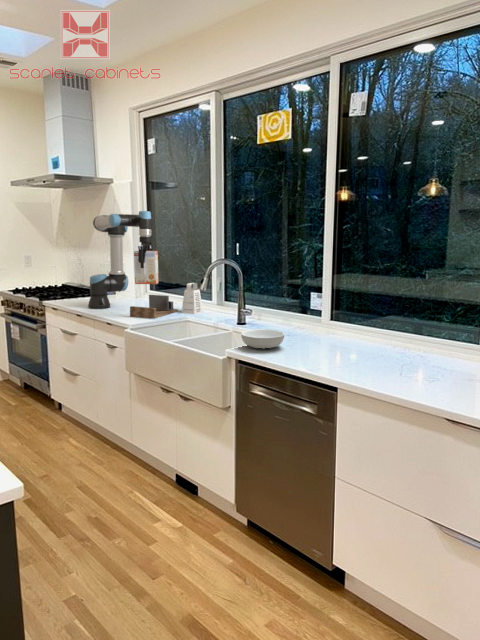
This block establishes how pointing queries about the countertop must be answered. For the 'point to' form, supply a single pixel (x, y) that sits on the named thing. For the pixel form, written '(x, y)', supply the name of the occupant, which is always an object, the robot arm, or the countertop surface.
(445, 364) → the countertop surface
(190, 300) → the grater
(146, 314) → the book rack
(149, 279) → the cracker box
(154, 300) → the bookend
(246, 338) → the serving bowl
